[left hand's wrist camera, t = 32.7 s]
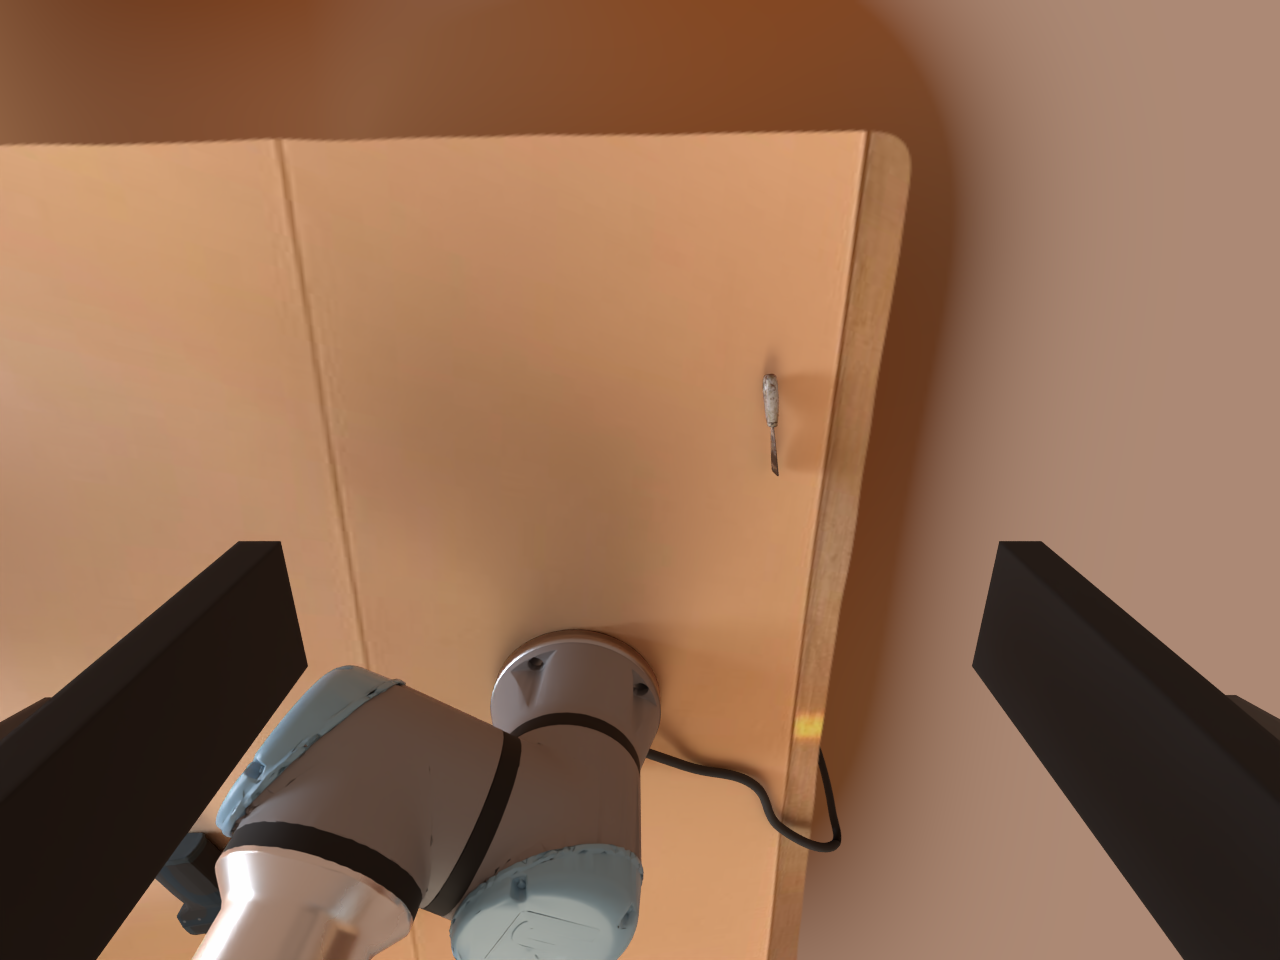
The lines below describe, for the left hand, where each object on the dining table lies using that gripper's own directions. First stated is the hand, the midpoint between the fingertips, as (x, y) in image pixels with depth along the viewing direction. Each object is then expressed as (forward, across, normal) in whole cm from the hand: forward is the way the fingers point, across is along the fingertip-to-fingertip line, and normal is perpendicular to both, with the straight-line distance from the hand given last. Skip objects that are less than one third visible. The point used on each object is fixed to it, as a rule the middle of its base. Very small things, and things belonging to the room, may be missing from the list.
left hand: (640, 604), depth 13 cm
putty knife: (+40, -10, +9) cm, 42 cm away
